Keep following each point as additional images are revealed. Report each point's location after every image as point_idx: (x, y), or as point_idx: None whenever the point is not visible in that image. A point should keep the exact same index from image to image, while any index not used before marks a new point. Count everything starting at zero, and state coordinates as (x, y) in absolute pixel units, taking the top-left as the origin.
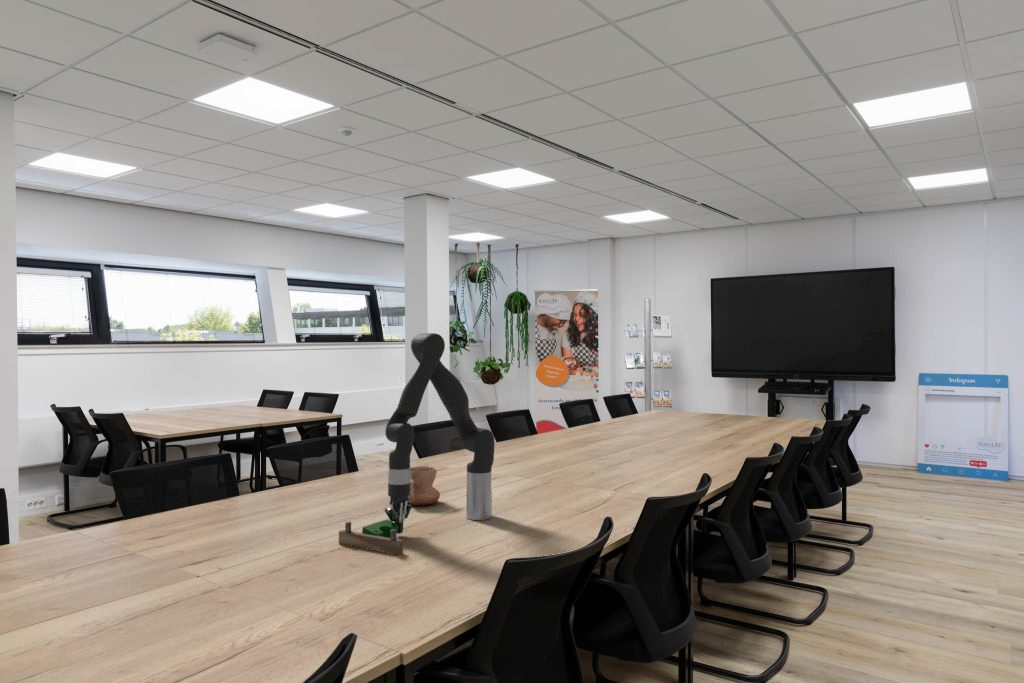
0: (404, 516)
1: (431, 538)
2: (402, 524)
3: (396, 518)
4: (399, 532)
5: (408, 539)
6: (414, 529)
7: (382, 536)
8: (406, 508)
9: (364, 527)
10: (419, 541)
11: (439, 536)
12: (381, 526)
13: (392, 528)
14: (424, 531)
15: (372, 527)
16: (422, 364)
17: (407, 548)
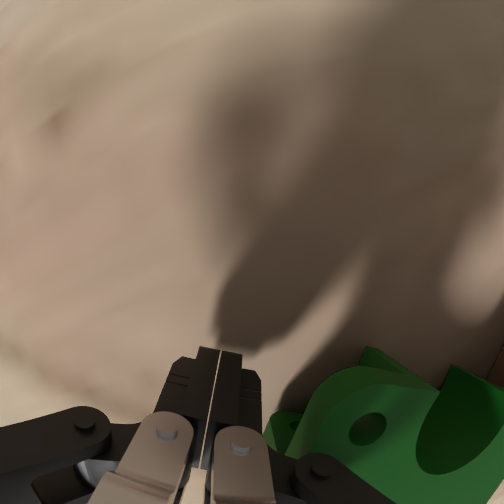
0: (131, 452)
1: (197, 38)
2: (196, 395)
3: (343, 493)
4: (241, 363)
5: (290, 234)
6: (27, 299)
7: (491, 385)
8: (8, 496)
9: (487, 499)
10: (321, 105)
11: (125, 11)
12: (440, 474)
13: (430, 403)
14: (33, 200)
15: (476, 485)
16: None
17: (497, 153)
